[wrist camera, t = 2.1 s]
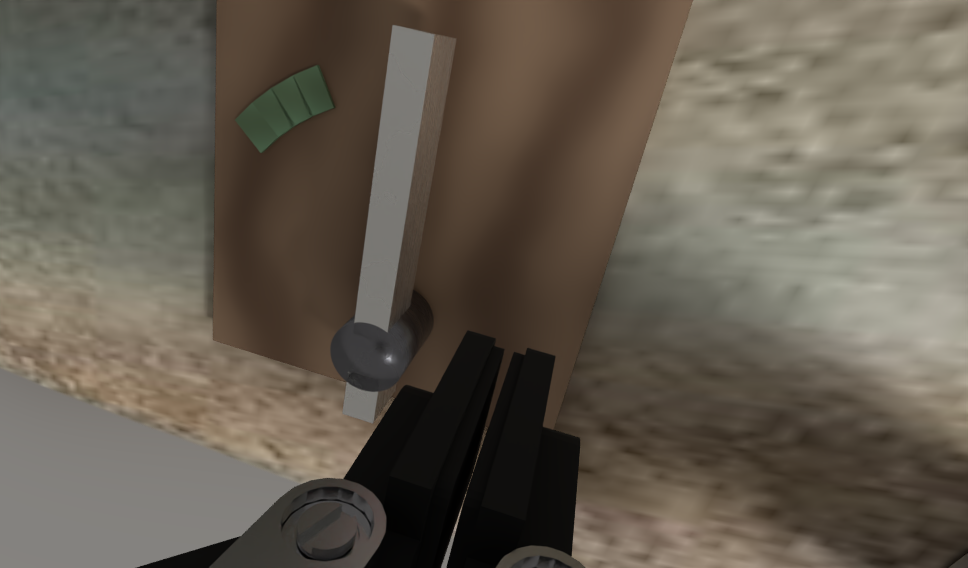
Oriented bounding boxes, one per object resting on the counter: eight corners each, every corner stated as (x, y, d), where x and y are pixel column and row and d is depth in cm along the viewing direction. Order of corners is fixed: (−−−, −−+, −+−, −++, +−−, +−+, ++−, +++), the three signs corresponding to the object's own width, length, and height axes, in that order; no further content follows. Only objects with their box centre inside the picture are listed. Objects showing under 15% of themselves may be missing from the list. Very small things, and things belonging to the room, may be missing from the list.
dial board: (689, -1, 23) (695, -6, 22) (550, 430, 32) (547, 448, 31) (239, -97, 26) (214, -107, 24) (228, 329, 35) (210, 341, 33)
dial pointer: (422, 380, 31) (392, 429, 26) (362, 361, 31) (323, 407, 27) (488, 45, 24) (461, 40, 20) (409, 27, 24) (366, 19, 20)
